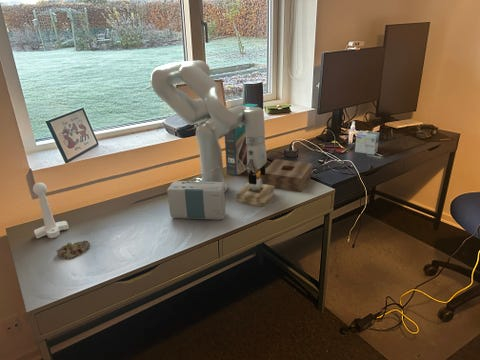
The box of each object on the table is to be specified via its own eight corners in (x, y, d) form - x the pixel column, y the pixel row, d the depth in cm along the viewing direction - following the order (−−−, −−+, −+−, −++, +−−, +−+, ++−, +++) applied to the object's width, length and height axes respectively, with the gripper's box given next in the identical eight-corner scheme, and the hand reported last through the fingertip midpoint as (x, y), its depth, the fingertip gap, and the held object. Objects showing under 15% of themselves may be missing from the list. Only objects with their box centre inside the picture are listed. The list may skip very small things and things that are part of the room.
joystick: (66, 224, 143) (54, 176, 135) (71, 232, 137) (58, 183, 129) (34, 234, 137) (19, 185, 129) (38, 243, 132) (22, 192, 124)
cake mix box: (237, 175, 180) (234, 114, 168) (226, 173, 183) (223, 113, 171) (259, 161, 197) (258, 104, 185) (249, 159, 200) (247, 103, 188)
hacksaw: (314, 174, 179) (314, 171, 178) (300, 168, 187) (300, 165, 186) (350, 163, 190) (350, 160, 189) (335, 157, 198) (335, 155, 197)
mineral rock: (58, 258, 119) (53, 241, 125) (60, 267, 122) (55, 250, 127) (93, 248, 125) (87, 232, 130) (94, 257, 127) (88, 241, 132)
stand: (237, 201, 155) (236, 193, 154) (248, 190, 165) (248, 181, 164) (264, 206, 151) (264, 197, 149) (274, 194, 160) (274, 185, 159)
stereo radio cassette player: (170, 220, 143) (163, 172, 135) (176, 209, 151) (170, 164, 143) (223, 222, 140) (220, 173, 132) (227, 211, 148) (224, 165, 140)
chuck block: (262, 185, 169) (261, 172, 166) (275, 171, 183) (275, 159, 181) (300, 192, 161) (301, 178, 159) (311, 176, 176) (312, 163, 174)
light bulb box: (377, 151, 204) (379, 132, 200) (374, 155, 199) (376, 135, 195) (357, 148, 209) (359, 129, 205) (354, 152, 204) (356, 133, 200)
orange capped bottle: (249, 196, 156) (249, 171, 152) (253, 192, 160) (252, 168, 155) (258, 197, 155) (258, 173, 150) (262, 193, 158) (261, 169, 154)
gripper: (255, 146, 139) (257, 188, 145) (271, 133, 153) (273, 172, 160) (237, 145, 142) (240, 186, 148) (255, 132, 156) (256, 170, 163)
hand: (257, 179), depth 154 cm, fingers open, 9 cm apart
